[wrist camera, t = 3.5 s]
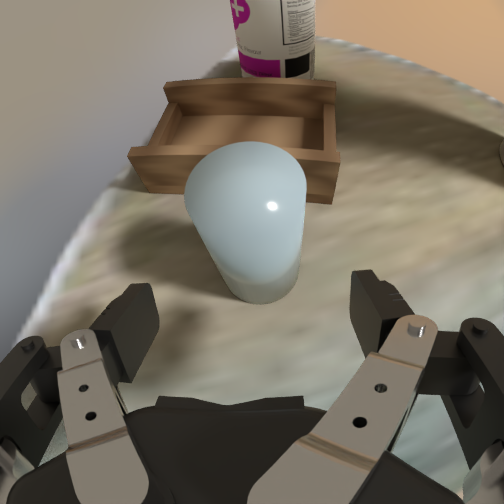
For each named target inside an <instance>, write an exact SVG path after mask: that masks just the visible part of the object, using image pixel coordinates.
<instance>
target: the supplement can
mask: <svg viewBox="0 0 504 504" xmlns="http://www.w3.org/2000/svg"><path fill="white" fill-rule="evenodd" d="M230 3H231V9H232V15H233V22H234V28H235V33H236V40H237V46H238V53H239V59H240V65H241V72H242V77H269V78H296V79H312V80H314V62H315V0H230Z"/></svg>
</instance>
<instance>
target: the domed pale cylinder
mask: <svg viewBox="0 0 504 504" xmlns="http://www.w3.org/2000/svg"><path fill="white" fill-rule="evenodd" d="M306 190H307V188H306V178H305V175H304V172H303V170H302V168H301V166H300V164H299V163H298V162H297V160H296V159H295V158H294V157H293V156H292V155H290V154H289V153H288V152H286V151H285V150H283V149H281V148H279V147H277V146H274V145H271V144H268V143H263V142H254V141H250V142H238V143H233V144H229V145H226V146H223V147H221V148H219V149H217V150H215V151H213V152H211V153H210V154H208V155H207V156H206V157H204V158H203V159H202V160H201V161H200V162H199V163H198V164H197V165H196V166H195V168H194V169H193V170H192V172H191V174H190V175H189V177H188V180H187V182H186V186H185V192H184V199H185V205H186V209H187V211H188V213H189V215H190V217H191V219H192V221H193V223H194V225H195V227H196V229H197V231H198V233H199V234H200V236H201V238H202V240H203V242H204V244H205V246H206V248H207V249H208V251H209V253H210V255H211V257H212V259H213V261H214V262H215V264H216V266H217V268H218V270H219V272H220V274H221V275H222V277H223V279H224V281H225V283H226V284H227V286H228V288H229V289H230V291H231V292H232V293H233V294H234V295H235V296H236V297H238V298H239V299H241V300H243V301H245V302H248V303H252V304H268V303H272V302H275V301H277V300H279V299H281V298H283V297H284V296H285V295H287V294H288V293H289V292H290V291H291V289H292V288H293V287H294V285H295V283H296V281H297V278H298V274H299V267H300V257H301V247H302V237H303V226H304V215H305V203H306Z"/></svg>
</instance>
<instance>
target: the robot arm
mask: <svg viewBox="0 0 504 504" xmlns="http://www.w3.org/2000/svg"><path fill="white" fill-rule="evenodd" d="M499 152H500V157H501V160H502V163H503V165H504V139H503V141H502V143H501V144H500V148H499ZM350 319H351V322H352V325H353V328H354V330H355V333H356V335H357V338H358V340H359V343H360V345H361V348H362V351H363V353H364V356H365V361H364V362H363V363H362V365H361V366H360V368H359V369H358V371H357V372H356V374H355V375H354V376H353V378H352V379H351V381H350V382H349V383H348V385H347V386H346V387H345V389H344V390H343V392H342V393H341V394H340V396H339V397H338V398H337V400H336V401H335V402H334V403H333V405H332V406H331V407H330V409H329V410H328V411H325V410H322V409H318V408H313V407H307V406H304V399H303V396H293V397H275V398H263V399H259V400H254V401H249V402H244V403H239V404H234V405H221V404H216V403H212V402H207V401H203V400H199V399H195V398H185V397H168V396H159V397H158V399H157V402H156V404H155V406H150V407H145V408H141V409H138V410H135V411H133V412H130V413H129V412H128V410H127V408H126V405H125V403H124V401H123V398H122V396H121V393H120V391H119V389H118V387H117V384H118V383H119V382H124V383H132V381H133V379H134V377H135V375H136V373H137V371H138V369H139V367H140V365H141V363H142V361H143V359H144V357H145V355H146V353H147V351H148V349H149V348H150V346H151V344H152V342H153V340H154V338H155V336H156V334H157V332H158V330H159V315H158V311H157V307H156V303H155V299H154V295H153V291H152V288H151V286H150V284H149V283H137V284H130V285H129V287H128V288H127V289H126V290H125V291H124V292H123V294H122V295H120V296H119V297H117V298H116V299H114V300H113V301H111V303H110V304H109V305H108V306H107V307H106V309H105V310H104V311H103V312H102V313H101V315H99V317H98V318H97V319H96V320H95V321H94V323H93V324H92V325H91V326H90V327H89V329H80V330H76V331H73V332H71V333H69V334H68V335H66V336H65V337H64V338H63V339H62V341H61V343H60V346H56V347H48V348H47V347H46V345H45V343H44V340H43V338H42V337H40V336H31V337H28V338H25V339H23V340H22V341H20V342H19V343H18V344H17V345H16V346H15V347H14V348H13V349H12V350H11V351H10V353H9V354H8V355H7V356H6V357H5V358H4V360H3V361H2V362H1V363H0V504H504V336H503V335H502V333H501V332H500V331H499V330H498V329H497V327H496V326H495V325H494V324H493V323H491V322H489V321H487V320H485V319H481V318H469V319H466V320H464V321H463V322H462V324H461V327H460V331H459V332H449V331H438V327H437V325H436V324H435V322H434V321H432V320H431V319H429V318H427V317H424V316H421V315H415V314H414V312H413V311H412V309H411V308H410V307H409V305H408V304H407V303H406V301H405V300H403V297H402V296H401V294H399V292H398V290H397V289H396V288H395V286H393V285H392V284H390V283H388V282H387V281H385V280H384V281H379V279H378V278H377V276H376V275H375V274H374V272H373V271H372V270H359V271H353V272H352V275H351V292H350ZM29 382H30V383H31V385H32V387H33V388H34V390H35V392H36V393H37V396H36V397H35V399H34V400H33V402H32V403H31V405H30V406H29V408H28V410H27V411H26V410H25V409H24V407H23V406H22V403H21V394H22V392H23V391H24V389H25V388H26V386H27V385H28V384H29ZM480 382H481V383H482V385H483V388H484V392H485V393H484V392H483V390H482V388H481V386H480V385H479V383H480ZM419 394H427V395H440V396H441V398H442V400H443V403H444V405H445V407H446V410H447V412H448V414H449V417H450V419H451V422H452V424H453V427H454V429H455V432H456V434H457V437H458V439H459V442H460V444H461V447H462V450H463V453H464V455H465V458H466V461H467V464H468V467H469V469H470V471H469V472H468V474H467V475H466V477H465V479H464V482H463V495H464V496H463V500H462V499H461V498H460V497H459V496H458V495H456V494H455V493H454V492H452V491H451V490H449V489H447V488H445V487H444V486H442V485H440V484H439V483H437V482H436V481H434V480H432V479H431V478H429V477H427V476H426V475H424V474H423V473H421V472H420V471H418V470H416V469H415V468H413V467H412V466H410V465H409V464H407V463H406V462H404V461H403V460H401V459H400V458H398V457H397V456H395V455H394V454H392V451H393V449H394V447H395V445H396V443H397V441H398V439H399V437H400V435H401V433H402V430H403V428H404V426H405V424H406V422H407V420H408V418H409V416H410V413H411V411H412V409H413V407H414V404H415V402H416V400H417V397H418V395H419ZM62 418H63V420H64V425H65V430H66V435H67V440H68V446H69V447H68V449H67V450H66V451H65V452H63V453H62V454H60V455H58V456H57V457H55V458H53V459H51V460H50V461H48V462H46V463H44V464H42V465H41V466H39V464H40V461H41V459H42V457H43V455H44V453H45V451H46V449H47V447H48V445H49V443H50V441H51V439H52V437H53V435H54V433H55V431H56V429H57V428H58V426H59V424H60V422H61V420H62ZM38 466H39V467H38Z"/></svg>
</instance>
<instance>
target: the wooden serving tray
mask: <svg viewBox="0 0 504 504" xmlns="http://www.w3.org/2000/svg"><path fill="white" fill-rule="evenodd" d="M163 89H164V92H165V94H166V97H167V100H168V102H169V103H168V105H167V107H166V109H165V111H164V113H163V115H162V117H161V119H160V121H159V123H158V125H157V127H156V129H155V131H154V133H153V135H152V138H151V140H150V142H149V144H148V146H141V147H131V149H130V151H129V153H128V156H127V157H128V159H129V160H130V162H131V164H132V165H133V167H134V169H135V170H136V172H137V174H138V175H139V177H140V178H141V180H142V182H143V183H144V185H145V186H146V188H147V190H148V191H149V193H168V194H184V192H185V186H186V182H187V180H188V177H189V175H190V174H191V172H192V170H193V169H194V168H195V166H196V165H197V164H198V163H199V162H200V161H201V160H202V159H203V158H204V157H206V156H207V155H208V154H210V153H211V152H213V151H215V150H217V149H219V148H221V147H223V146H226V145H229V144H233V143H238V142H250V141H254V142H263V143H268V144H271V145H274V146H277V147H279V148H281V149H283V150H285V151H286V152H288V153H289V154H290V155H292V156H293V157H294V158H295V159H296V160H297V162H298V163H299V164H300V166H301V168H302V170H303V172H304V175H305V178H306V188H307V190H306V202H313V203H323V204H332V201H333V197H334V192H335V187H336V182H337V177H338V172H339V166H340V152H336V124H335V96H336V82H334V81H324V80H312V79H296V78H269V77H237V78H210V79H196V80H182V81H173V82H166V84H165V86H164V87H163Z"/></svg>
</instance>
